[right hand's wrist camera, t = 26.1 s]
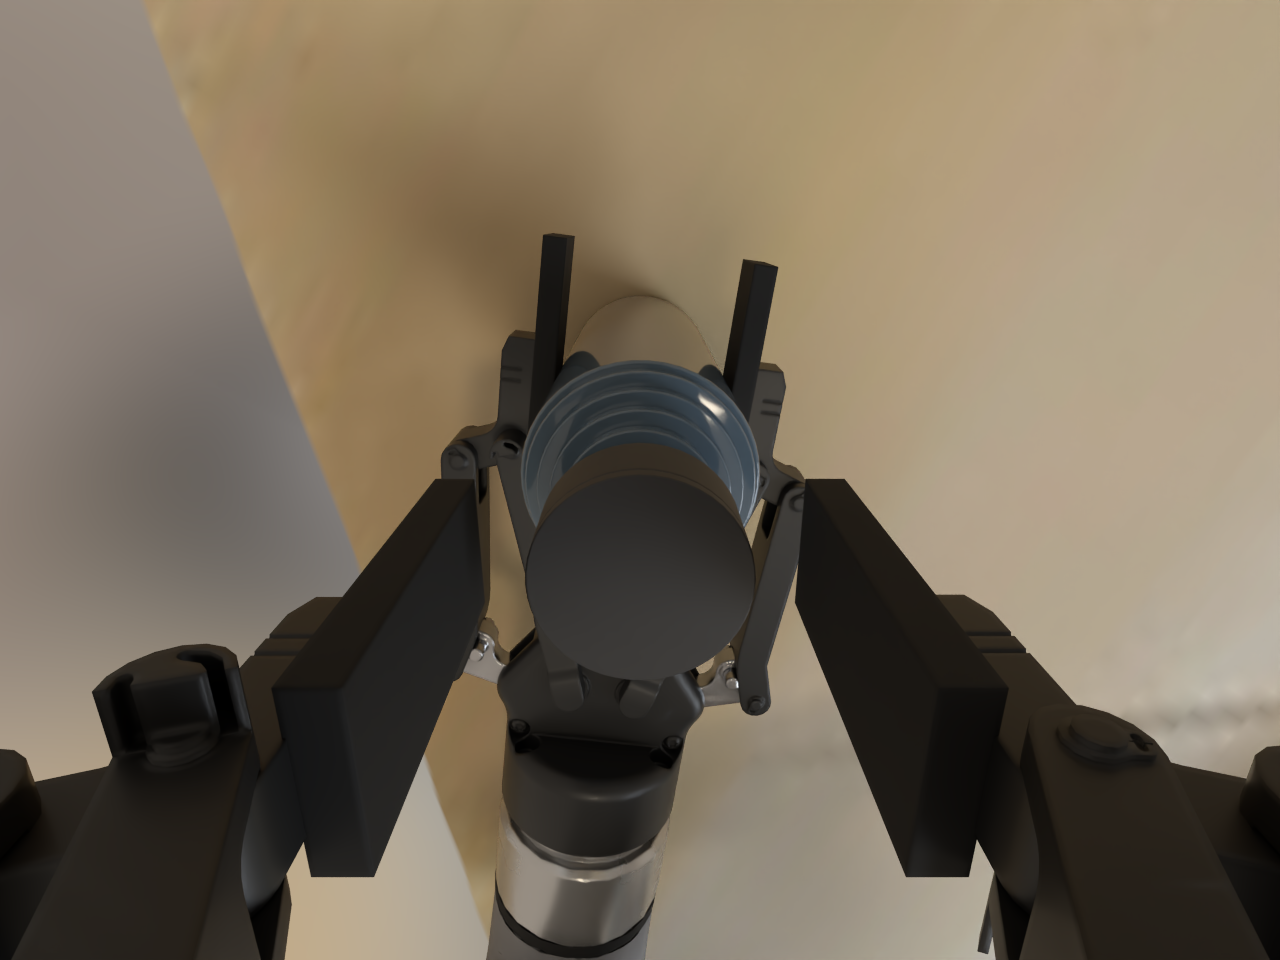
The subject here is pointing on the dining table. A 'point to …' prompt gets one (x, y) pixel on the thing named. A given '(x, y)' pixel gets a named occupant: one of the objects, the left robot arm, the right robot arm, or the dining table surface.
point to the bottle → (640, 402)
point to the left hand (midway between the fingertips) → (660, 250)
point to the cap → (640, 563)
